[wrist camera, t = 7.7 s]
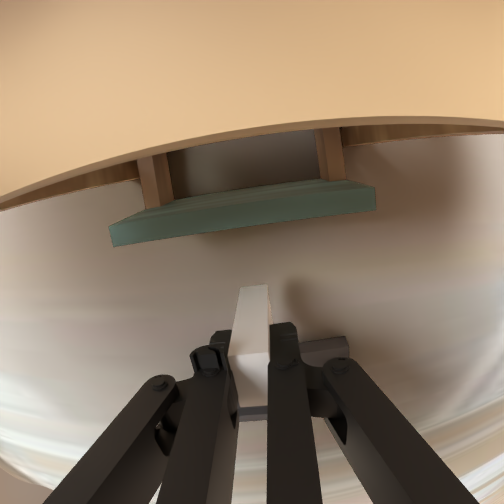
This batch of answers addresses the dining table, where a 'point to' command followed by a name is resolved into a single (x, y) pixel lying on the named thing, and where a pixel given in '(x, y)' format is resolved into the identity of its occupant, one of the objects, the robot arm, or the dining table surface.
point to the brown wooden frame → (231, 79)
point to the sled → (242, 199)
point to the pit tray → (311, 355)
